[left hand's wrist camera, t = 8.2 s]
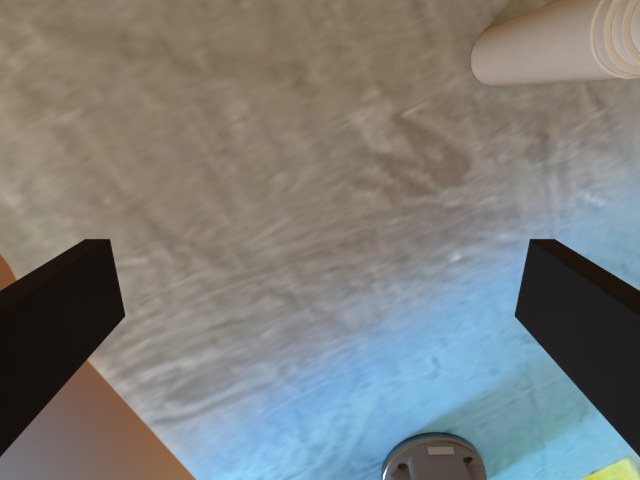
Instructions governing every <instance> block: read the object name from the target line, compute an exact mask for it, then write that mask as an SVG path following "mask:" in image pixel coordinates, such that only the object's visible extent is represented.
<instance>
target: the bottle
mask: <svg viewBox="0 0 640 480" xmlns="http://www.w3.org/2000/svg"><path fill="white" fill-rule="evenodd" d="M471 67H472V71H473V73H474V75H475V77H476V78H477V79H478V80H479V81H480V82H481V83H483V84H485V85H487V86H491V87H502V86H518V85H535V84H552V83H568V82H585V81H602V80H618V79H633V78H639V77H640V0H556V1H553V2H551V3H548V4H546V5H544V6H541V7H539V8H536V9H534V10H531V11H529V12H527V13H524V14H522V15H519V16H517V17H514V18H512V19H510V20H507V21H505V22H502V23H500V24H497V25H495V26H493V27H490V28H489V29H487V30H486V31H485V32H483V33H482V34H481V35H480V37H479V38H478V39H477V41H476V43H475V44H474V47H473V49H472V53H471Z"/></svg>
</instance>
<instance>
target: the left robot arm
mask: <svg viewBox="0 0 640 480" xmlns="http://www.w3.org/2000/svg"><path fill="white" fill-rule="evenodd" d="M124 317H125V312H124V307H123V302H122V297H121V292H120V287H119V282H118V277H117V272H116V267H115V262H114V257H113V252H112V247H111V242H110V239H85V240H83V241H82V242H80V243H78V244H77V245H75V246H73V247H72V248H70V249H68V250H67V251H65V252H63V253H62V254H60V255H59V256H57V257H55V258H54V259H52V260H50V261H49V262H47V263H45V264H44V265H42V266H40V267H39V268H37V269H36V270H34V271H32V272H31V273H29V274H27V275H26V276H24V277H22V278H21V279H19V280H17V281H16V282H14V283H13V284H11V285H9V286H8V287H6V288H4V289H3V290H1V291H0V457H1V456H2V454H3V453H4V452H5V451H6V450H7V449H8V448H9V447H10V445H11V444H12V443H13V442H14V441H15V440H16V439H17V437H18V436H19V435H20V434H21V433H22V432H23V431H24V430H25V428H26V427H27V426H28V425H29V424H30V423H31V422H32V421H33V419H34V418H35V417H36V416H37V415H38V414H39V413H40V412H41V410H42V409H43V408H44V407H45V406H46V405H47V404H48V403H49V401H50V400H51V399H52V398H53V397H54V396H55V395H56V393H57V392H58V391H59V390H60V389H61V388H62V387H63V386H64V385H65V383H66V382H67V381H68V380H69V379H70V378H71V377H72V375H73V374H74V373H75V372H76V371H77V370H78V369H79V368H80V366H81V365H82V364H83V363H84V362H85V361H86V360H87V359H88V357H89V356H90V355H91V354H92V353H93V352H94V351H95V350H96V348H97V347H98V346H99V345H100V344H101V343H102V342H103V341H104V339H105V338H106V337H107V336H108V335H109V334H110V333H111V332H112V330H113V329H114V328H115V327H116V326H117V325H118V324H119V323H120V321H121V320H122V319H123V318H124ZM515 317H516V318H517V319H518V320H519V321H520V323H521V324H522V325H523V326H524V327H525V328H526V329H527V330H528V332H529V333H530V334H531V335H532V336H533V337H534V338H535V339H536V341H537V342H538V343H539V344H540V345H541V346H542V347H543V348H544V350H545V351H546V352H547V353H548V354H549V355H550V356H551V357H552V359H553V360H554V361H555V362H556V363H557V364H558V365H559V366H560V368H561V369H562V370H563V371H564V372H565V373H566V374H567V376H568V377H569V378H570V379H571V380H572V381H573V382H574V383H575V385H576V386H577V387H578V388H579V389H580V390H581V391H582V392H583V394H584V395H585V396H586V397H587V398H588V399H589V400H590V401H591V403H592V404H593V405H594V406H595V407H596V408H597V409H598V410H599V412H600V413H601V414H602V415H603V416H604V417H605V418H606V419H607V421H608V422H609V423H610V424H611V425H612V426H613V427H614V428H615V430H616V431H617V432H618V433H619V434H620V435H621V436H622V437H623V439H624V440H625V441H626V442H627V443H628V444H629V445H630V447H631V448H632V449H633V450H634V451H635V452H636V453H637V454H638V456H639V457H640V291H639V290H637V289H636V288H634V287H632V286H631V285H629V284H628V283H626V282H624V281H623V280H621V279H619V278H618V277H616V276H614V275H613V274H611V273H609V272H608V271H606V270H604V269H603V268H601V267H600V266H598V265H596V264H595V263H593V262H591V261H590V260H588V259H586V258H585V257H583V256H581V255H580V254H578V253H577V252H575V251H573V250H572V249H570V248H568V247H567V246H565V245H563V244H562V243H560V242H558V241H557V240H555V239H530V242H529V247H528V252H527V257H526V262H525V267H524V272H523V277H522V282H521V287H520V292H519V297H518V302H517V307H516V312H515ZM382 480H487V479H486V472H485V468H484V465H483V462H482V460H481V458H480V456H479V454H478V452H477V451H476V449H475V448H474V447H473V446H472V445H471V444H470V443H468V442H467V441H465V440H463V439H461V438H459V437H456V436H453V435H449V434H441V433H432V434H424V435H419V436H416V437H413V438H410V439H408V440H406V441H404V442H402V443H401V444H399V445H398V446H397V447H395V448H394V449H393V450H392V451H391V452H390V453H389V455H388V456H387V458H386V459H385V461H384V464H383V467H382Z"/></svg>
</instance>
